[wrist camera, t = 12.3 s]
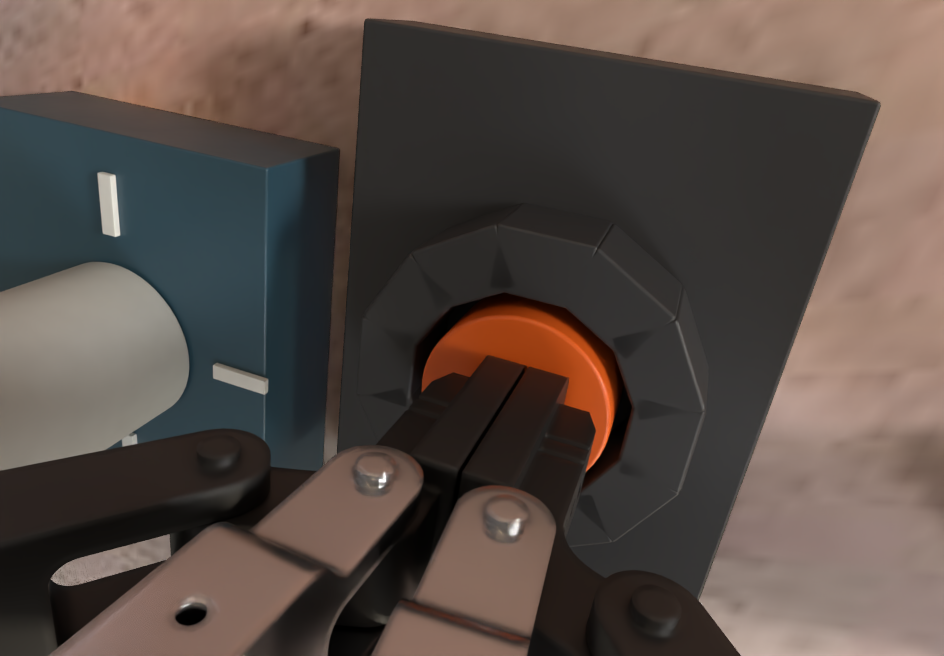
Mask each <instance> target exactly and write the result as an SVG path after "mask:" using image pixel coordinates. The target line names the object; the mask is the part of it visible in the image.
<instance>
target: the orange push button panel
mask: <svg viewBox="0 0 944 656" xmlns="http://www.w3.org/2000/svg"><path fill="white" fill-rule="evenodd" d="M880 106H881V105H880V102H878V101H877V100H874V99H872V98H870V97H867V96H865V95H863V94H860V93H858V92H853V91H847V90H840V89H834V88H828V87H822V86H815V85H809V84H803V83H797V82H790V81H784V80H778V79H772V78H765V77H759V76H753V75H747V74H740V73H734V72H728V71H722V70H715V69H709V68H703V67H697V66H690V65H684V64H678V63H672V62H665V61H659V60H653V59H647V58H640V57H634V56H628V55H622V54H615V53H609V52H603V51H597V50H590V49H584V48H578V47H572V46H565V45H559V44H553V43H547V42H540V41H534V40H528V39H522V38H515V37H509V36H503V35H497V34H490V33H484V32H478V31H472V30H465V29H459V28H453V27H447V26H440V25H434V24H428V23H422V22H415V21H404V20H386V19H369V18H368V19H365V22H364V35H363V50H362V66H361V82H360V98H359V113H358V129H357V145H356V160H355V176H354V192H353V207H352V223H351V239H350V255H349V270H348V286H347V302H346V317H345V333H344V349H343V365H342V380H341V396H340V412H339V427H338V443H337V454H338V453H340V452H342V451H344V450H346V449H349V448H352V447H356V446H362V445H376V444H377V443H378V441H379V440H380V439H381V438H382V437H383V436H384V435H385V434H386V432H387V431H388V430H389V429H390V428H391V427H392V426H393V425H394V423H395V422H396V421H397V420H398V419H399V418H400V417H401V416H402V414H403V413H404V412H405V411H406V410H408V409H409V407H410V405H411V404H412V403H413V402H414V401H415V400H416V399H418V398H419V395H420V394H421V393H422V378H423V373H424V368H425V365H426V362H427V360H428V357H429V356H430V354H431V352H432V350H433V348H434V347H435V346H436V344H437V343H438V342H439V340H440V339H441V338H442V337H443V336H444V335H445V334H446V333H447V332H448V331H449V330H450V329H451V328H452V327H453V326H454V325H455V324H456V323H457V322H458V321H459V320H460V319H461V318H462V317H463V316H464V315H465V314H466V313H467V312H468V311H469V310H470V309H471V308H472V307H473V306H474V305H475V304H476V303H477V302H479V301H480V300H481V299H483V298H486V297H490V296H493V295H497V294H501V293H508V294H512V295H516V296H520V297H524V298H528V299H532V300H536V301H540V302H544V303H547V304H551V305H555V306H559V307H563V308H566V309H567V310H568V311H569V312H571V313H572V314H573V315H574V316H575V317H576V318H577V319H578V320H579V321H581V322H582V323H583V324H584V325H585V326H586V327H587V328H588V329H590V330H591V331H592V332H593V333H594V334H595V335H596V336H597V337H598V338H600V339H601V340H602V341H603V342H604V343H605V344H606V345H607V346H608V347H610V348H611V349H612V350H613V352H614V355H615V358H616V361H617V364H618V367H619V369H620V372H621V375H622V378H623V381H624V386H623V391H622V396H621V399H620V403H619V406H618V409H617V412H616V415H615V419H614V422H613V425H612V428H611V431H610V435H609V438H608V440H607V443H606V446H605V448H604V450H603V452H602V454H601V455H600V457H599V458H598V459H597V461H596V462H595V463H594V465H593V466H592V467H591V468H590V469H589V470H587V471H586V472H585V476H584V480H583V484H582V488H581V492H580V496H579V500H578V503H577V506H576V509H575V512H574V515H573V518H572V520H571V524H570V527H569V530H568V533H567V536H566V541H567V543H568V545H569V547H570V548H571V550H572V551H573V552H574V554H575V555H576V556H577V557H578V558H579V559H580V560H581V561H582V562H583V563H584V564H585V565H587V566H588V567H589V568H591V569H592V570H594V571H595V572H597V573H598V574H600V575H601V576H603V577H604V578H607V577H608V576H610V575H612V574H614V573H617V572H621V571H626V570H641V571H647V572H652V573H655V574H658V575H661V576H664V577H666V578H668V579H671V580H672V581H674V582H676V583H678V584H679V585H681V586H682V587H684V588H685V589H686V590H688V591H689V592H690V593H691V594H692V595H693V596H694V597H695V598H696V599H697V600H698V601H699V599H700V596H701V593H702V590H703V588H704V585H705V582H706V579H707V577H708V574H709V571H710V569H711V566H712V563H713V560H714V558H715V555H716V552H717V550H718V547H719V544H720V541H721V539H722V536H723V533H724V531H725V528H726V525H727V522H728V520H729V517H730V514H731V511H732V509H733V506H734V503H735V501H736V498H737V495H738V492H739V490H740V487H741V484H742V482H743V479H744V476H745V473H746V471H747V468H748V465H749V463H750V460H751V457H752V454H753V452H754V449H755V446H756V444H757V441H758V438H759V435H760V433H761V430H762V427H763V424H764V422H765V419H766V416H767V414H768V411H769V408H770V405H771V403H772V400H773V397H774V395H775V392H776V389H777V386H778V384H779V381H780V378H781V376H782V373H783V370H784V367H785V365H786V362H787V359H788V357H789V354H790V351H791V348H792V346H793V343H794V340H795V337H796V335H797V332H798V329H799V327H800V324H801V321H802V318H803V316H804V313H805V310H806V308H807V305H808V302H809V299H810V297H811V294H812V291H813V289H814V286H815V283H816V280H817V278H818V275H819V272H820V270H821V267H822V264H823V261H824V259H825V256H826V253H827V250H828V248H829V245H830V242H831V240H832V237H833V234H834V231H835V229H836V226H837V223H838V221H839V218H840V215H841V212H842V210H843V207H844V204H845V202H846V199H847V196H848V193H849V191H850V188H851V185H852V183H853V180H854V177H855V174H856V172H857V169H858V166H859V163H860V161H861V158H862V155H863V153H864V150H865V147H866V144H867V142H868V139H869V136H870V134H871V131H872V128H873V125H874V123H875V120H876V117H877V115H878V112H879V109H880Z"/></svg>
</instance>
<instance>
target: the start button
mask: <svg viewBox="0 0 944 656" xmlns="http://www.w3.org/2000/svg"><path fill="white" fill-rule="evenodd" d="M488 355H491V356H494V357H498V358H501V359H505V360H508V361H512V362H515V363H519V364H522V365H526V366H527V369H528V367H533V368H537V369H540V370H544V371H548V372H551V373H555V374H558V375H562V376H565V377H569V383H568V389H567V393H566V398H565V402H564V405H567V406H570V407H573V408H577V409H580V410H584V411H587V412H590V415H591V418H592V421H593V423H594V426H595V429H596V433H595V437H594V441H593V445H592V449H591V453H590V457H589V461H588V465H587V468H586V471H587V470H589V469H590V468H591V467H592V466H593V465H594V463H595V462H596V461H597V459H598V458H599V457H600V455H601V454H602V452H603V450H604V448H605V446H606V443H607V440H608V438H609V435H610V431H611V428H612V425H613V422H614V419H615V415H616V412H617V409H618V406H619V403H620V399H621V396H622V391H623V386H624V381H623V378H622V375H621V372H620V369H619V367H618V364H617V361H616V358H615V355H614V352H613V350H612V349H611V348H610V347H608V346H607V345H606V344H605V343H604V342H603V341H602V340H601V339H600V338H598V337H597V336H596V335H595V334H594V333H593V332H592V331H591V330H590V329H588V328H587V327H586V326H585V325H584V324H583V323H582V322H581V321H579V320H578V319H577V318H576V317H575V316H574V315H573V314H572V313H571V312H569V311H568V310H567V309H566V308H563V307H559V306H555V305H551V304H547V303H544V302H540V301H536V300H532V299H528V298H524V297H520V296H516V295H512V294H508V293H501V294H497V295H493V296H490V297H486V298H483V299H481V300H480V301H479V302H477V303H476V304H475V305H474V306H473V307H472V308H471V309H470V310H469V311H468V312H467V313H466V314H465V315H464V316H463V317H462V318H461V319H460V320H459V321H458V322H457V323H456V324H455V325H454V326H453V327H452V328H451V329H450V330H449V331H448V332H447V333H446V334H445V335H444V336H443V337H442V338H441V339H440V340H439V342H438V343H437V344H436V346H435V347H434V348H433V350H432V352H431V354H430V356H429V357H428V360H427V362H426V365H425V368H424V373H423V378H422V392H423V391H424V390H425V388H426V387H427V386H428V385H429V384H430V383H431V382H432V381H434V380H436V379H439V378H441V377H443V376H446V375H448V374H450V373H453V372H454V373H457V374H461V375H464V376H468V377H470V376H471V375H472V374H473V373H474V371H475V370H476V369H477V368H478V366H479V365H480V364H481V362H482V361H483V360H484V359H485V357H486V356H488Z"/></svg>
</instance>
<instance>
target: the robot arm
mask: <svg viewBox="0 0 944 656" xmlns="http://www.w3.org/2000/svg"><path fill="white" fill-rule="evenodd" d="M568 383H569V377H565V376H562V375H558V374H555V373H551V372H548V371H544V370H540V369H537V368H533V367H528V369H527V366H526V365H522V364H519V363H515V362H512V361H508V360H505V359H501V358H498V357H494V356H491V355H488V356H486V357H485V359H484V360H483V361H482V362H481V364H480V365H479V366H478V368H477V369H476V370H475V371H474V373H473V374H472V375H471V376H470V377H468V376H464V375H461V374H457V373H454V372H453V373H450V374H448V375H446V376H443V377H441V378H439V379H436V380H434V381H432V382H431V383H430V384H429V385H428V386H427V387H426V388H425V390H424V391H423V392H422V393H421V394H420V395H419V398H418V399H416V400H415V401H414V402H413V403H412V404H411V405H410V407H409V409H408V410H406V411H405V412H404V413H403V414H402V416H401V417H400V418H399V419H398V420H397V421H396V422H395V423H394V425H393V426H392V427H391V428H390V429H389V430H388V431H387V432H386V434H385V435H384V436H383V437H382V438H381V439H380V440H379V441H378V443H377V444H376V445H362V446H356V447H352V448H349V449H346V450H344V451H342V452H340V453H338V454H336V455H335V456H334V457H332V458H331V459H330V460H329V461H328V462H327V463H326V464H325V465H323V466H322V467H321V468H320V469H319V470H318V471H311V470H299V469H290V468H280V467H271V453H270V449H269V446H268V445H267V444H266V442H265V441H264V440H263V439H261V438H260V437H258V436H257V435H255V434H252V433H250V432H247V431H243V430H238V429H227V428H222V429H211V430H204V431H199V432H194V433H189V434H184V435H179V436H174V437H169V438H164V439H159V440H154V441H149V442H143V443H138V444H133V445H128V446H123V447H118V448H113V449H108V450H103V451H98V452H93V453H87V454H82V455H77V456H72V457H67V458H62V459H57V460H52V461H47V462H42V463H37V464H31V465H26V466H21V467H16V468H11V469H6V470H1V471H0V656H741V655H740V654H739V653H738V651H737V650H736V649H735V648H734V646H733V645H732V644H731V642H730V641H729V640H728V638H727V637H726V636H725V634H724V633H723V632H722V631H721V629H720V628H719V627H718V625H717V624H716V623H715V621H714V620H713V619H712V617H711V616H710V615H709V613H708V612H707V611H706V610H705V608H704V607H703V606H702V604H701V603H700V602H699V601H698V600H697V599H696V598H695V597H694V596H693V595H692V594H691V593H690V592H689V591H688V590H686V589H685V588H684V587H682V586H681V585H679V584H678V583H676V582H674V581H672V580H671V579H668V578H666V577H664V576H661V575H658V574H655V573H652V572H647V571H641V570H626V571H621V572H617V573H614V574H612V575H610V576H608V577H607V578H604V577H603V576H601V575H600V574H598V573H597V572H595V571H594V570H592V569H591V568H589V567H588V566H587V565H585V564H584V563H583V562H582V561H581V560H580V559H579V558H578V557H577V556H576V555H575V554H574V552H573V551H572V550H571V548H570V547H569V545H568V543H567V541H566V536H567V533H568V530H569V527H570V524H571V520H572V518H573V515H574V512H575V509H576V506H577V503H578V500H579V496H580V492H581V488H582V484H583V480H584V476H585V472H586V468H587V465H588V461H589V457H590V453H591V449H592V445H593V441H594V437H595V433H596V429H595V426H594V423H593V421H592V418H591V415H590V412H587V411H584V410H580V409H577V408H573V407H570V406H567V405H564V402H565V398H566V393H567V389H568ZM167 534H170V547H171V557H169V558H168V559H167V560H164V561H161V562H157V563H154V564H150V565H147V566H143V567H140V568H136V569H133V570H129V571H126V572H122V573H119V574H115V575H112V576H108V577H105V578H101V579H97V580H94V581H90V582H87V583H83V584H80V585H75V586H62V585H58V584H56V583H54V582H53V581H52V580H51V577H52V575H53V574H54V573H55V572H56V571H57V570H58V569H59V568H60V567H61V566H63V565H64V564H66V563H68V562H70V561H72V560H74V559H77V558H81V557H84V556H88V555H92V554H96V553H99V552H103V551H107V550H111V549H115V548H118V547H122V546H126V545H130V544H133V543H137V542H141V541H145V540H148V539H152V538H156V537H160V536H163V535H167Z"/></svg>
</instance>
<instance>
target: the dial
mask: <svg viewBox="0 0 944 656" xmlns="http://www.w3.org/2000/svg"><path fill="white" fill-rule="evenodd" d="M188 376H189V354H188V348H187V344H186V340H185V337H184V334H183V332H182V329H181V327H180V325H179V323H178V320H177V318H176V317H175V315H174V313H173V312H172V310H171V308H170V307H169V306H168V304H167V303H166V302H165V300H164V299H163V298H162V297H161V295H160V294H159V293H158V292H157V291H156V290H155V289H154V288H153V287H152V286H151V285H150V284H149V283H147V282H146V281H145V280H144V279H142V278H141V277H140V276H138V275H136V274H135V273H133V272H131V271H130V270H128V269H125V268H123V267H121V266H118V265H115V264H111V263H105V262H88V263H83V264H81V265H78V266H75V267H72V268H69V269H66V270H63V271H60V272H57V273H54V274H52V275H49V276H46V277H43V278H40V279H37V280H34V281H31V282H28V283H26V284H23V285H20V286H17V287H14V288H11V289H8V290H5V291H2V292H0V471H1V470H6V469H11V468H16V467H21V466H26V465H31V464H37V463H42V462H47V461H52V460H57V459H62V458H67V457H72V456H77V455H82V454H87V453H93V452H98V451H103V450H106V449H108V448H109V447H111V446H112V445H114V444H115V443H117V442H118V441H120V440H121V439H123V438H124V437H126V436H127V435H129V434H130V433H132V432H134V431H135V430H137V429H138V428H140V427H141V426H143V425H144V424H146V423H147V422H149V421H150V420H152V419H153V418H155V417H156V416H158V415H159V414H161V413H163V412H164V411H166V410H167V409H169V408H170V407H171V406H173V405H174V404H175V403H176V402H177V401H178V400H179V398H180V397H181V395H182V394H183V392H184V389H185V387H186V384H187V380H188Z"/></svg>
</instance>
